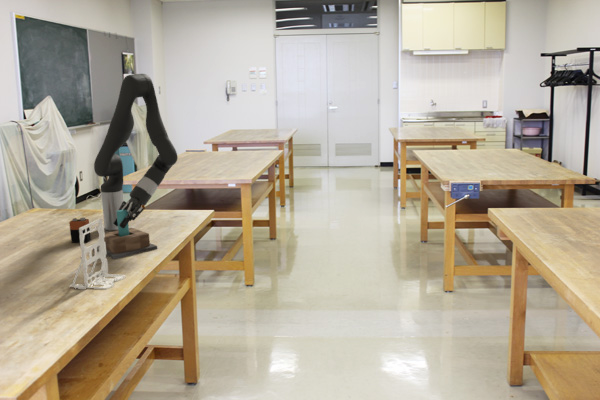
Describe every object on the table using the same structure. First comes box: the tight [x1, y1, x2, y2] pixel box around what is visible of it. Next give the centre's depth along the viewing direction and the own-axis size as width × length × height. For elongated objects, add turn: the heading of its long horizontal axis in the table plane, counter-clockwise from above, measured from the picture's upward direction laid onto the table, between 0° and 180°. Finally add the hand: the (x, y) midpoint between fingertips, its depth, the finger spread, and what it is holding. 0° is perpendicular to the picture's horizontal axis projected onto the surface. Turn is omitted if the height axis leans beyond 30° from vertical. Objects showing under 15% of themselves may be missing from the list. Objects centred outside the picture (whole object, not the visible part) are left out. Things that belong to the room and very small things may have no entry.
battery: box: [68, 217, 92, 244], centre depth 242 cm, size 4×7×10 cm, turn 90°
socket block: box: [92, 227, 158, 260], centre depth 229 cm, size 18×18×6 cm
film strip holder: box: [69, 218, 126, 290], centre depth 191 cm, size 14×14×20 cm
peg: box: [116, 210, 130, 237], centre depth 229 cm, size 4×4×14 cm
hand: (118, 225), depth 227 cm, fingers open, 4 cm apart
